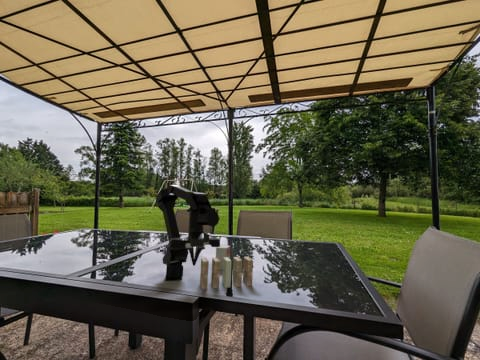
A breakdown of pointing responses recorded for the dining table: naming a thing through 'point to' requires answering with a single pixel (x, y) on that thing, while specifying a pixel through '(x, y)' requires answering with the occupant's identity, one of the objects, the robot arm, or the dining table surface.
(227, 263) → the domino
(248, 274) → the domino
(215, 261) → the domino
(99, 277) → the dining table surface
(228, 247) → the small box
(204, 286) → the domino
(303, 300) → the dining table surface
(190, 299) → the dining table surface
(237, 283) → the domino
